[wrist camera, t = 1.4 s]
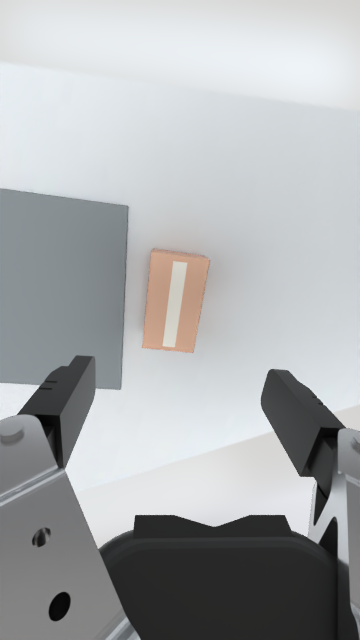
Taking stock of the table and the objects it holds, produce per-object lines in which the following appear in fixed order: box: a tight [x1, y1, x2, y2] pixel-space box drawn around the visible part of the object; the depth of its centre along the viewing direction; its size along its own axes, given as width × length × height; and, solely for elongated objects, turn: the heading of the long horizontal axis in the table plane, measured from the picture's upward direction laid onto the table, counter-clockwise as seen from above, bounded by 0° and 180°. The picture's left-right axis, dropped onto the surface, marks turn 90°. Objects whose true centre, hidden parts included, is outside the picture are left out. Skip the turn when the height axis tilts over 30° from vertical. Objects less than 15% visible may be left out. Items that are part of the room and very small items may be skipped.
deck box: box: [142, 249, 210, 353], centre depth 23 cm, size 5×9×4 cm, turn 172°
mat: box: [0, 189, 128, 390], centre depth 24 cm, size 18×20×1 cm
